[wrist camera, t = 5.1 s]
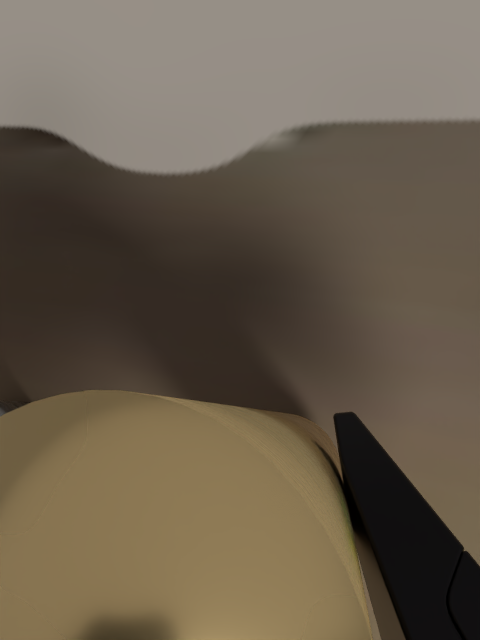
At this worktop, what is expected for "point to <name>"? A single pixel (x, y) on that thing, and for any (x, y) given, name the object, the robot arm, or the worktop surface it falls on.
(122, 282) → the worktop surface
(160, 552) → the brass pin
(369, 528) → the robot arm
